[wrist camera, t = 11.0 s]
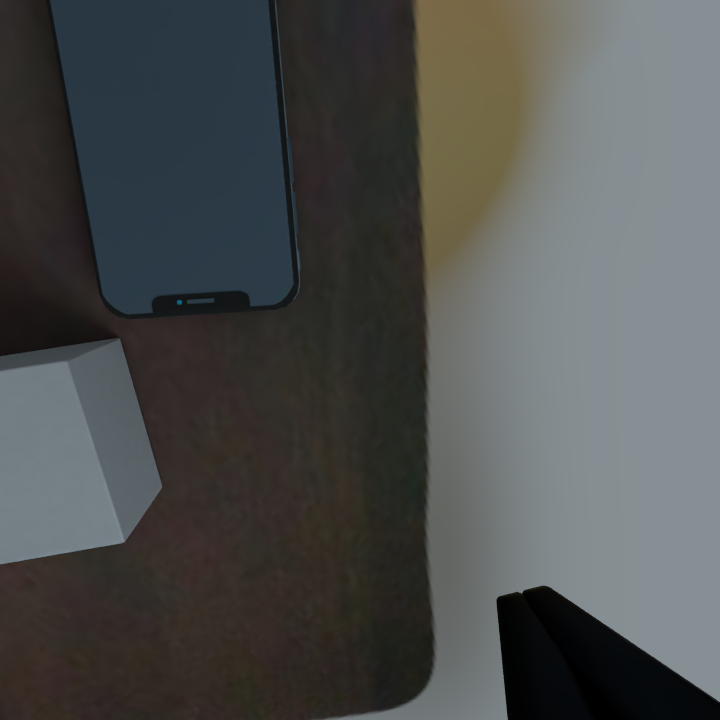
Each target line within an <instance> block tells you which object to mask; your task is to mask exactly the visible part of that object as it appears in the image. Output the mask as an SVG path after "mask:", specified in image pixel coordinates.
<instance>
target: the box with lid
mask: <svg viewBox="0 0 720 720" xmlns="http://www.w3.org/2000/svg"><path fill="white" fill-rule="evenodd" d="M161 488H162V484H161V480H160V477H159V473H158V470H157V466H156V463H155V459H154V456H153V452H152V449H151V445H150V442H149V438H148V435H147V431H146V428H145V424H144V421H143V418H142V414H141V411H140V407H139V404H138V400H137V397H136V393H135V390H134V386H133V383H132V379H131V376H130V372H129V369H128V365H127V362H126V358H125V355H124V351H123V348H122V344H121V341H120V339H119V338H115V339H108V340H102V341H95V342H89V343H82V344H76V345H70V346H63V347H57V348H50V349H44V350H37V351H31V352H25V353H18V354H12V355H5V356H0V564H4V563H10V562H16V561H22V560H27V559H33V558H39V557H45V556H50V555H56V554H62V553H68V552H73V551H79V550H85V549H90V548H96V547H102V546H108V545H113V544H119V543H123V542H125V541H126V539H127V538H128V536H129V535H130V533H131V532H132V530H133V529H134V528H135V526H136V525H137V523H138V522H139V520H140V519H141V517H142V516H143V515H144V513H145V512H146V510H147V509H148V507H149V506H150V504H151V503H152V501H153V500H154V499H155V497H156V496H157V494H158V493H159V491H160V490H161Z"/></svg>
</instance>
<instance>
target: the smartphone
mask: <svg viewBox="0 0 720 720" xmlns="http://www.w3.org/2000/svg"><path fill="white" fill-rule="evenodd" d="M47 5H48V10H49V16H50V21H51V27H52V33H53V38H54V44H55V49H56V55H57V60H58V66H59V71H60V77H61V83H62V88H63V94H64V99H65V105H66V110H67V116H68V121H69V127H70V133H71V138H72V144H73V149H74V155H75V160H76V166H77V171H78V177H79V183H80V188H81V194H82V199H83V205H84V210H85V216H86V221H87V227H88V233H89V238H90V244H91V249H92V255H93V260H94V266H95V271H96V277H97V283H98V288H99V294H100V296H101V299H102V301H103V303H104V306H105V307H106V308H107V309H108V310H109V311H110V312H111V313H113V314H115V315H116V316H118V317H121V318H127V319H140V318H155V317H170V316H185V315H200V314H215V313H230V312H245V311H260V310H275V309H279V308H282V307H285V306H287V305H288V304H290V303H291V302H292V301H293V300H294V299H295V297H296V296H297V294H298V292H299V288H300V271H302V268H301V257H300V250H298V248H297V237H296V234H299V233H298V221H297V210H296V198H295V192H293V191H292V182H294V175H293V163H292V151H291V140H290V137H288V133H287V121H286V110H285V98H284V87H283V75H282V64H281V52H280V40H279V29H278V17H277V6H276V0H47Z"/></svg>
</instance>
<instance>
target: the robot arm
mask: <svg viewBox="0 0 720 720" xmlns="http://www.w3.org/2000/svg"><path fill="white" fill-rule="evenodd" d="M497 612H498V623H499V633H500V643H501V654H502V664H503V675H504V685H505V695H506V706H507V716H508V720H720V702H719V701H717V700H716V699H714V698H713V697H711V696H710V695H708V694H707V693H705V692H704V691H703V690H701V689H700V688H698V687H696V686H695V685H694V684H692V683H691V682H689V681H688V680H686V679H685V678H683V677H682V676H680V675H679V674H677V673H676V672H674V671H673V670H671V669H670V668H668V667H667V666H666V665H664V664H662V663H661V662H660V661H658V660H657V659H655V658H654V657H652V656H651V655H649V654H648V653H646V652H645V651H643V650H641V649H640V648H638V647H637V646H636V645H634V644H633V643H631V642H630V641H628V640H627V639H626V638H624V637H623V636H621V635H620V634H618V633H617V632H615V631H614V630H612V629H611V628H609V627H608V626H606V625H605V624H603V623H602V622H600V621H599V620H597V619H596V618H594V617H593V616H591V615H590V614H589V613H587V612H585V611H584V610H583V609H581V608H579V607H578V606H577V605H575V604H574V603H572V602H571V601H569V600H568V599H566V598H565V597H563V596H562V595H560V594H559V593H557V592H556V591H554V590H553V589H552V588H550V587H547V586H539V587H535V588H531V589H527V590H524V591H523V593H522V594H521V593H519V592H515V593H511V594H507V595H503V596H499V597H498V598H497Z"/></svg>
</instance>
